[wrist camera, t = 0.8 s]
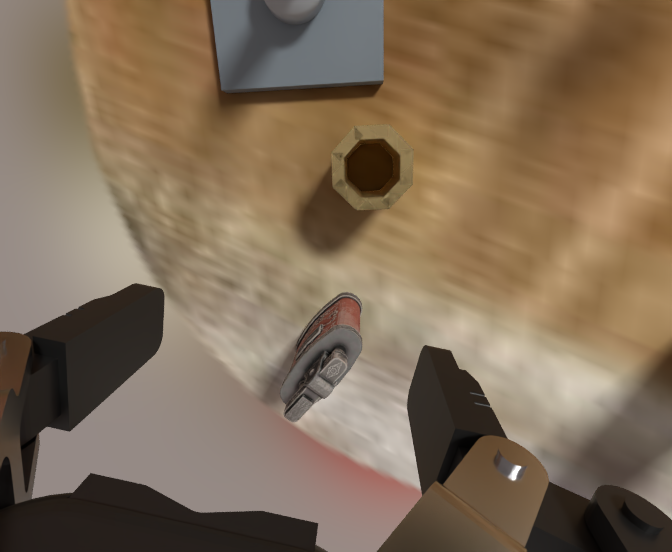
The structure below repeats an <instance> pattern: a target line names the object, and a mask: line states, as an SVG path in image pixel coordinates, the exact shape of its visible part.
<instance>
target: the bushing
mask: <svg viewBox="0 0 672 552" xmlns="http://www.w3.org/2000/svg"><path fill="white" fill-rule="evenodd" d="M360 144H380V145H381V146H382V147H383V148H384V149H385V150H386V151H387V152H388V153H389V154H390V155H391V156H392V157H393V177H392V178H391V179H390V180H389V181H388V182H387V183H386V184H385V185H384V186H383V187H382V188H381V189H380V190H378V191H361V190H360V189H359V188H358V187H357V186H355V185H354V184H353V183H352V182H351V181H350V180H349V179H348V158H349V157H350V156H351V155H352V153H353V152H354V151H355V150H356V149H357V148H358V147H359V145H360ZM413 150H414V149H413V148H412V147H411V146H410V145H409V144H408V143H407V142H406V141H405V140H404V139H403V138H402V137H401V136H400V135H399V134H398V133H397V132H396V131H395V130H394V129H393V128H392V127H391V126H390V125H389V124H386V125H366V126H354V127H353V128H352V129H351V131H350V132H349V133H348V134H347V135H346V136H345V138H344V139H343V140H342V141H341V142H340V143H339V144H338V146H337V147H336V148H335V149H334V150H333V151H332V153H331V160H332V184H333V188H334V189H335V190H336V191H337V192H338V193H339V194H340V195H341V196H342V197H343V198H344V199H345V200H346V201H347V202H348V203H349V204H350V205H351V206H353V207H354V208H355V209H356V210H376V209H389V208H390V207H391V206H392V205H393V204H394V203H395V202H396V201H397V200H398V199H399V198H400V197H401V196H402V195H403V194H404V193H405V192H406V191H407V190H408V189H409V188H410V187H411V186H412V185H413Z"/></svg>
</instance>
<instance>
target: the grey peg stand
mask: <svg viewBox="0 0 672 552" xmlns="http://www.w3.org/2000/svg"><path fill="white" fill-rule="evenodd" d="M210 1H211V9H212V17H213V26H214V34H215V42H216V50H217V58H218V66H219V74H220V82H221V90H222V91H224V92H226V93H240V92H256V91H273V90H290V89H306V88H323V87H340V86H356V85H373V84H383V0H210Z"/></svg>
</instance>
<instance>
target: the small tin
mask: <svg viewBox="0 0 672 552" xmlns="http://www.w3.org/2000/svg"><path fill="white" fill-rule="evenodd" d="M361 313H362V303H361V301H360V299H359V298H358V297H357V296H356V295H354V294H353V293H349V292H343V293H341V294H339V295H337V296H336V297H335V298H334V299H332V300H331V301H330V302H328V303H327V304H326V305H325V306H324V307H323V308H322V309H321V310H320V311H319V312H318V313H317V314H316V315H315V316H314V317H313V319H312V320H311V321H310V323H309V324H308V325H307V327H306V328H305V330H304V332H303V333H302V335H301V337H300V339H299V341H298V343H297V346H296V355H295V358H294V361H293V364H292V367H291V369H290V372H289V373H288V375H287V377H286V379H285V380H284V382H283V385H282V387H281V391H280V396H281V399H282V400H283V402H284V403H285V404H286V407H285V410H284V417H285V418H287V419H288V420H289V421H291V422H296V421H298V420H299V419H300V418H301V417H302V416H303V415H304V414H305V413H306V412H307V411H308V410H309V409H310V408H311V407H312V405H313V404H315V403H316V402H317V401H319V400H320V399H322V398H324V399H325V398H327V397H328V396H329V395H330V393H331V392H332V391H333V389H334V387H335V386H337V385H338V384H339V382H340V381H341V380H342V379H343V377H344V376H345V375H346V374H347V373H348V371H349V370H350V369H351V367H352V366H353V364H354V363H355V361H356V359H357V358H358V356H359V355H360V353H361V350H362V337H361V335H360V316H361Z"/></svg>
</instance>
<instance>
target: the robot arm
mask: <svg viewBox="0 0 672 552" xmlns="http://www.w3.org/2000/svg"><path fill="white" fill-rule="evenodd" d="M163 318H164V292H163V290H162V289H160V288H156V287H151V286H146V285H142V284H137V283H136V284H132V285H130V286H128V287H126V288H124V289H122V290H121V291H118V292H117V293H115V294H113V295H110V296H106V297H103V298H98V299H94V300H92V301H90V302H88V303H86V304H84V305H82V306H80V307H79V308H78V309H74V310H72V311H70V312H68V313H66V315H62V316H60V317H58V318H56V319H54V320H52V321H50V322H48V323H46V324H44V325H42V326H40V327H38V328H36V329H34V330H32V331H30V332H28V333H26V334H20V333H15V332H0V552H327V551H326V550H324V549H322V548H321V547H319V546H317V545H315V544H316V536H317V528H318V523H314V522H309V521H305V520H300V519H296V518H291V517H287V516H282V515H278V514H273V513H269V512H264V511H246V512H214V513H199V512H195V511H192V510H190V509H188V508H187V507H185V506H183V505H181V504H179V503H177V502H175V501H174V500H172V499H170V498H168V497H166V496H165V495H163V494H161V493H159V492H157V491H155V490H153V489H152V488H150V487H148V486H146V485H142V484H137V483H133V482H128V481H124V480H119V479H114V478H110V477H105V476H101V475H96V474H92V473H90V475H89V476H88V477H87V478H86V479H85V480H84V481H83V482H82V484H81V485H80V486H79V487H78V488H77V489H76V490H75V491H74V492H73V493H64V494H56V495H49V496H44V497H39V498H35V499H32V492H33V485H34V479H35V472H36V465H37V458H38V451H39V445H40V440H39V432H41V431H42V430H43V429H44V428H45V427H52V428H56V429H61V430H65V431H71V430H72V429H73V428H74V427H75V426H76V425H78V424H79V423H80V422H81V421H82V420H83V419H84V418H85V417H86V416H88V415H89V414H90V413H91V412H92V411H93V410H94V409H95V408H96V407H97V406H99V405H100V404H101V403H102V402H103V401H104V400H105V399H106V398H107V397H108V396H110V394H112V393H113V392H114V391H115V390H116V389H117V388H118V387H120V386H121V385H122V384H123V383H124V382H125V381H126V380H127V379H128V378H129V377H130V376H132V375H133V374H134V373H135V372H136V371H137V370H138V369H139V368H141V367H142V366H143V365H144V364H145V363H146V362H147V361H148V360H149V359H151V358H152V357H153V356H154V355H155V354H156V352H157V351H158V349H159V347H160V344H161V341H162V337H163ZM484 395H485V394H484V392H483V390H482V389H481V387H480V385H479V383H478V382H477V381H476V380H475V379H474V378H473V377H472V376H471V375H470V374H469V373H468V372H467V371H466V370H461V369H459V368H458V365H457V363H456V361H455V359H454V357H453V355H452V352H451V351H450V350H446V349H441V348H436V347H431V346H427V345H425V346H424V347H423V348H422V351H421V353H420V357H419V360H418V363H417V366H416V370H415V373H414V376H413V379H412V383H411V386H410V389H409V394H408V402H407V410H408V416H409V422H410V427H411V433H412V439H413V445H414V450H415V456H416V462H417V468H418V474H419V479H420V485H421V491H422V497H421V498H420V500H419V501H418V502H417V503H416V504H415V506H414V507H413V508H412V509H411V511H410V512H409V513H408V514H407V515H406V517H405V518H404V519H403V520H402V522H401V523H400V524H399V525H398V526H397V528H396V529H395V530H394V531H393V532H392V534H391V535H390V536H389V537H388V539H387V540H386V541H385V542H384V543H383V545H382V546H381V547H380V548H379V550H378V551H377V552H672V520H671V519H670V518H669V517H668V516H667V515H666V514H664V513H663V512H662V511H661V510H660V509H658V508H657V507H656V506H654V505H653V504H651V503H650V502H648V501H647V500H645V499H644V498H642V497H640V496H639V495H637V494H635V493H633V492H631V491H628V490H626V489H623V488H620V487H617V486H612V485H603V486H600V487H598V489H597V490H596V492H595V493H594V495H593V497H592V499H591V501H590V500H588V499H586V498H584V497H582V496H579V495H577V494H575V493H573V492H570V491H568V490H566V489H564V488H561V487H559V486H557V485H555V484H553V483H551V482H549V478H548V474H547V472H546V470H545V468H544V467H543V465H542V464H541V462H540V461H539V460H538V459H537V458H536V457H535V456H534V455H533V454H532V453H530V452H529V451H528V450H526V449H525V448H524V447H522V446H520V445H519V444H517V443H515V442H513V441H511V440H509V439H508V438H507V437H506V435H505V433H504V431H503V429H502V427H501V425H500V423H499V421H498V419H497V417H496V415H495V413H494V412H493V410H492V408H490V404H489V402H488V400H487V398H486V397H484Z"/></svg>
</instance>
